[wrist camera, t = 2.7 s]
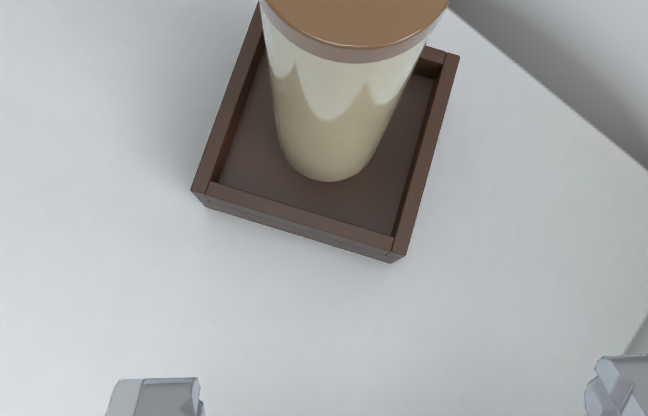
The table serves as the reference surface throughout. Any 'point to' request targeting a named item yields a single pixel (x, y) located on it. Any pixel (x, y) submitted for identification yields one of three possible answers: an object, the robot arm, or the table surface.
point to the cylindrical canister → (340, 75)
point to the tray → (317, 196)
